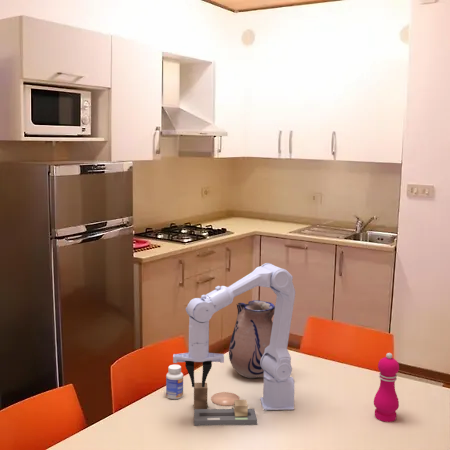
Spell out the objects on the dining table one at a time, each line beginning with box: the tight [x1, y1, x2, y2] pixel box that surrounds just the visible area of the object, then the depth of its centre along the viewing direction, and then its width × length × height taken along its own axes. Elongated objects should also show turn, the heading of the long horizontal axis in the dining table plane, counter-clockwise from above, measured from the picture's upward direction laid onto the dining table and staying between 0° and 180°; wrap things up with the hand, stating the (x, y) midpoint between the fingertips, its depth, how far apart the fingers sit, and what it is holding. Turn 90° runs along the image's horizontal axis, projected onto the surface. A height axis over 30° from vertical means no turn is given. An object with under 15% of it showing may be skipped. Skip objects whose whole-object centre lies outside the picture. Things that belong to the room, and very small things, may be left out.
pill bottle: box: [165, 364, 184, 400], centre depth 181 cm, size 5×5×10 cm
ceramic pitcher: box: [228, 299, 275, 379], centre depth 199 cm, size 18×21×25 cm
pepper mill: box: [373, 352, 400, 423], centre depth 169 cm, size 7×7×20 cm
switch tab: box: [233, 399, 249, 417], centre depth 167 cm, size 4×4×3 cm
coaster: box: [210, 391, 241, 407], centre depth 180 cm, size 9×9×1 cm
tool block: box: [193, 382, 209, 410], centre depth 174 cm, size 4×4×7 cm
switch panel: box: [193, 408, 258, 426], centre depth 167 cm, size 18×7×2 cm, turn 94°
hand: (198, 385), depth 165 cm, fingers open, 2 cm apart
